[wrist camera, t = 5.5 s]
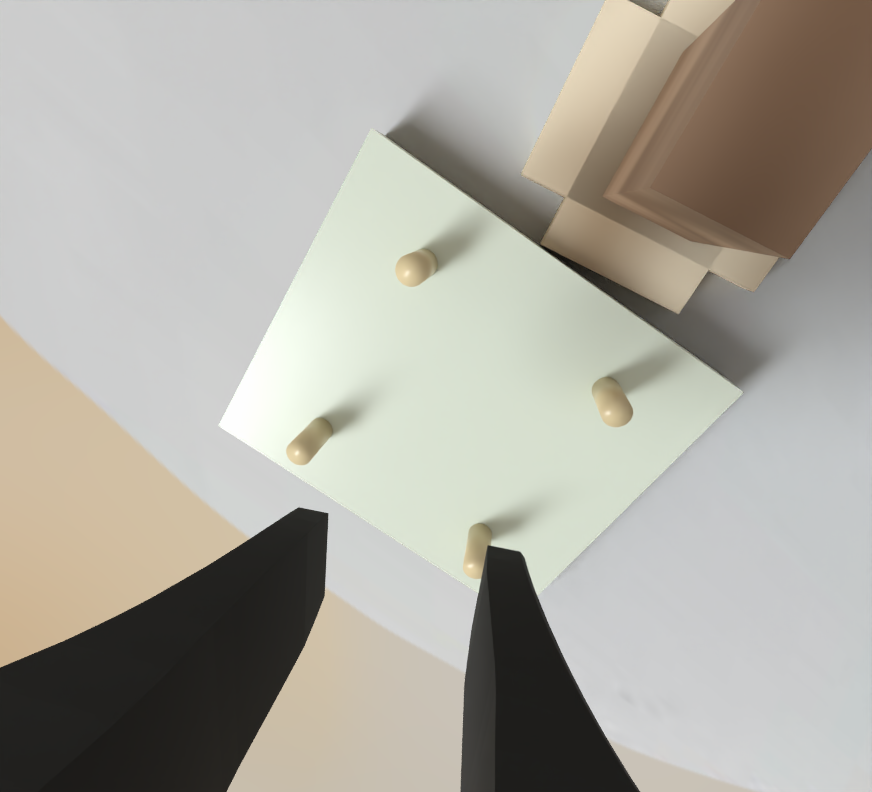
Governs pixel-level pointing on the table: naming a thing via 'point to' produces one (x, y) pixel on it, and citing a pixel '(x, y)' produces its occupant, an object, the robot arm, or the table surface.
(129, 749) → the robot arm
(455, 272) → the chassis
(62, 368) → the table surface
